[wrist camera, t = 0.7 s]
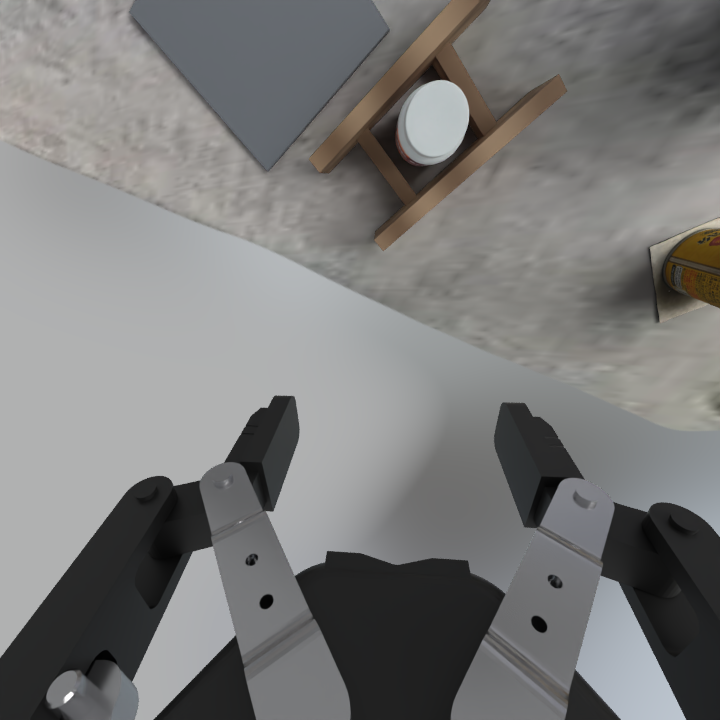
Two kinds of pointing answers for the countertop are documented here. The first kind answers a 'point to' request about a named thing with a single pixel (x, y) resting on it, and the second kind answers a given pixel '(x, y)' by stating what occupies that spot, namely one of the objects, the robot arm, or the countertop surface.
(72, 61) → the countertop surface
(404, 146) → the pill bottle
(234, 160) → the countertop surface
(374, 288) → the countertop surface
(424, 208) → the wooden rack
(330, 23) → the mat
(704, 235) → the condiment
